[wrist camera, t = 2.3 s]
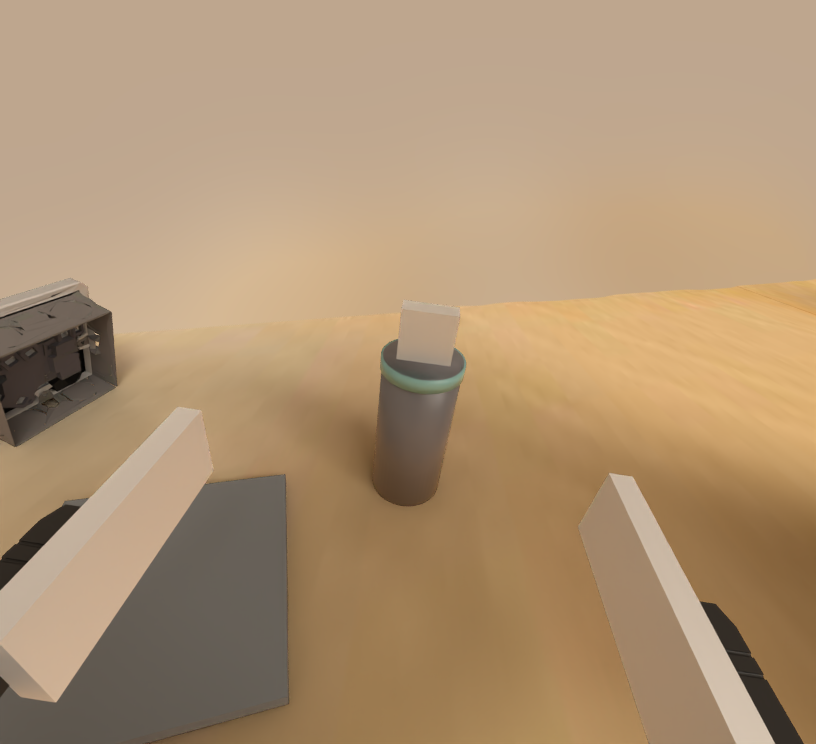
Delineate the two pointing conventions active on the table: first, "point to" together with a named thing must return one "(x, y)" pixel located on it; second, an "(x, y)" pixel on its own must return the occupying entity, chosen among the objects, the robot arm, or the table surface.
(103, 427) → the table surface
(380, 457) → the trash can
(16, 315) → the electrical switch
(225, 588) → the pad
